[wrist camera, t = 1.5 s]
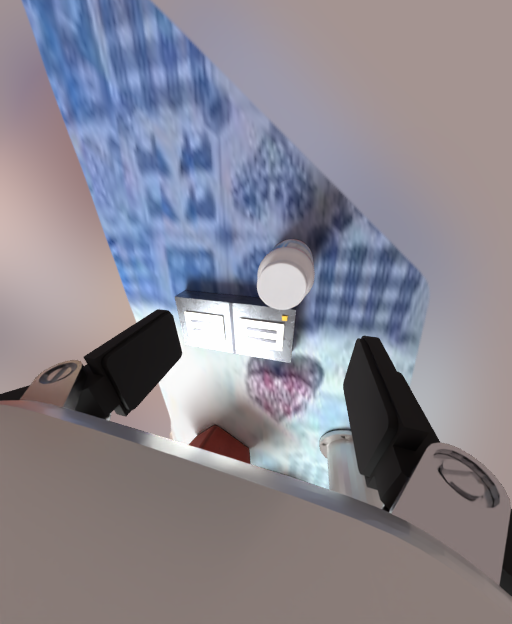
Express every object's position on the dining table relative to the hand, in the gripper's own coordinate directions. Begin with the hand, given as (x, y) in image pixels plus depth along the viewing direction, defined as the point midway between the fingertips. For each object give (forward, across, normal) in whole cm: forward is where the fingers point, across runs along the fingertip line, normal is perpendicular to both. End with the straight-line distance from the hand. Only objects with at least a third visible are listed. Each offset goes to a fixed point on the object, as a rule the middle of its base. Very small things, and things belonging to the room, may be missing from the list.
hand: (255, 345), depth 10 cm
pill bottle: (+20, 0, 0) cm, 20 cm away
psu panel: (+20, +8, +11) cm, 25 cm away
